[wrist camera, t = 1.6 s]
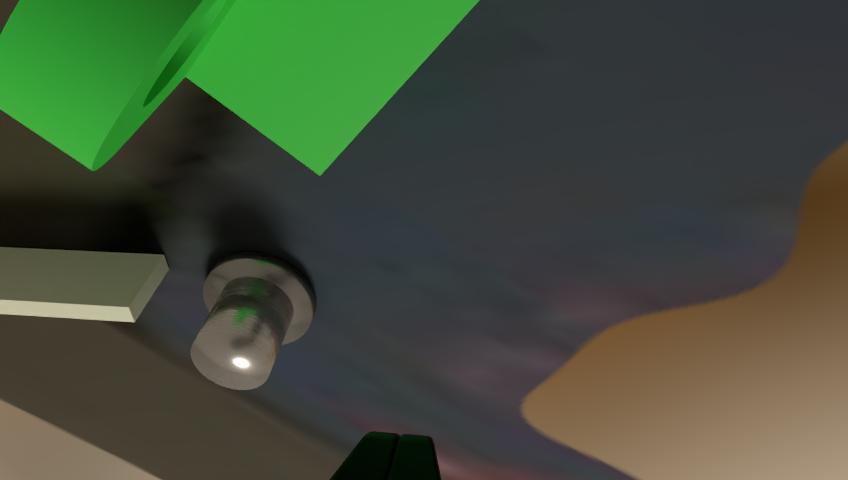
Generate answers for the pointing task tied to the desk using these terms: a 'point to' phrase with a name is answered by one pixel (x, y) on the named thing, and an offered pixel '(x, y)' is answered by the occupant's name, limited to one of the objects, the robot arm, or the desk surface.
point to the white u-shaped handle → (78, 283)
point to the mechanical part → (214, 65)
